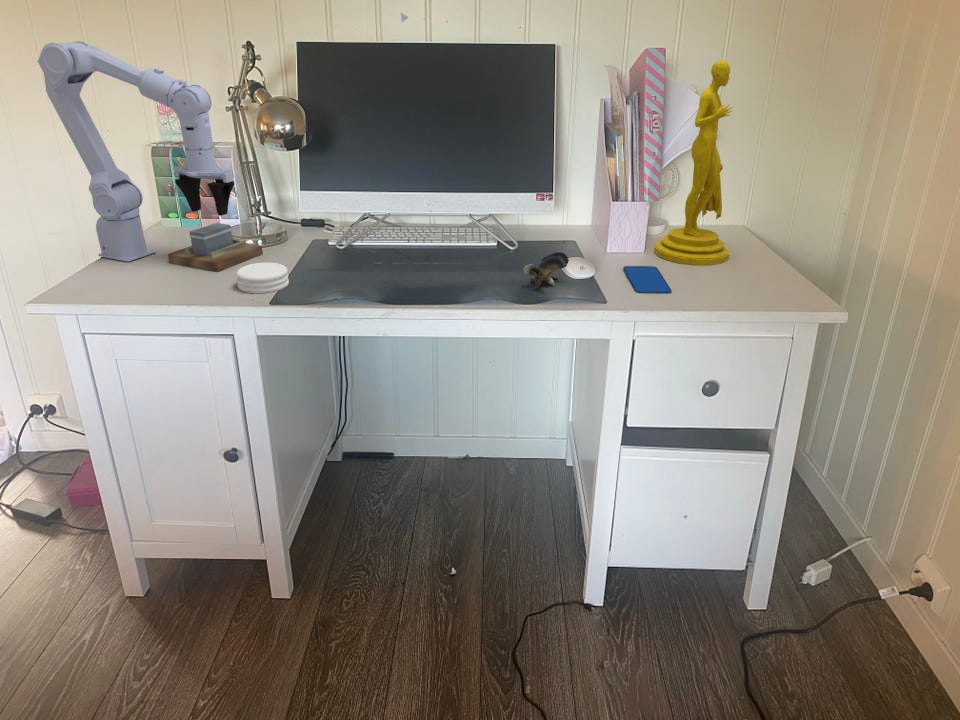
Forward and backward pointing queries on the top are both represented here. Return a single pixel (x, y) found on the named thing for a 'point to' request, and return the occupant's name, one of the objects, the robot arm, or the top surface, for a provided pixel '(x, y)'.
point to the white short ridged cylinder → (262, 277)
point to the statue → (702, 185)
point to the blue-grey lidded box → (211, 238)
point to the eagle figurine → (546, 268)
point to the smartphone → (646, 279)
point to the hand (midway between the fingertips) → (209, 212)
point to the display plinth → (217, 256)
